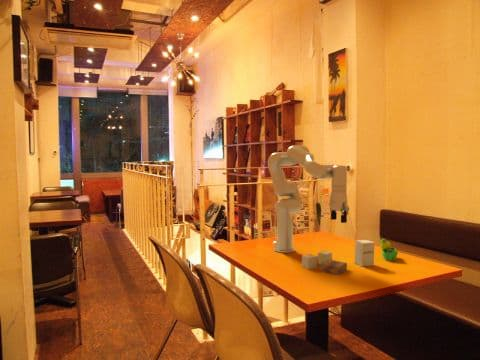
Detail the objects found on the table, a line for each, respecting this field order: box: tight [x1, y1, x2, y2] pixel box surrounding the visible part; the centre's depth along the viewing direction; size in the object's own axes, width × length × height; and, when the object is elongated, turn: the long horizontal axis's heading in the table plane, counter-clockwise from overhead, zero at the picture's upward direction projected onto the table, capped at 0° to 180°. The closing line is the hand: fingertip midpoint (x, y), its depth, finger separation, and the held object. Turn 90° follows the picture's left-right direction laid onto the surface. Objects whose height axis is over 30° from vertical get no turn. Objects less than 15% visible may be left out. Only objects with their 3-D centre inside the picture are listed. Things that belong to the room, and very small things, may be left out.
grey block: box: [301, 253, 318, 270], centre depth 197 cm, size 6×6×6 cm
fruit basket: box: [379, 238, 399, 262], centre depth 215 cm, size 11×9×11 cm
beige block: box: [317, 250, 333, 265], centre depth 204 cm, size 6×6×6 cm
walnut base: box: [320, 259, 348, 276], centre depth 192 cm, size 10×10×4 cm
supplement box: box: [354, 239, 375, 268], centre depth 202 cm, size 7×7×13 cm
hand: (338, 221), depth 201 cm, fingers open, 9 cm apart
